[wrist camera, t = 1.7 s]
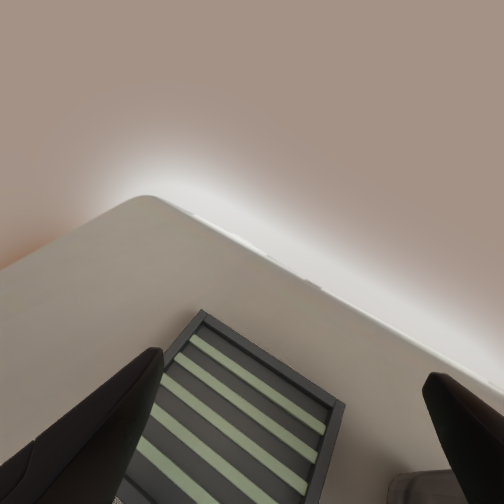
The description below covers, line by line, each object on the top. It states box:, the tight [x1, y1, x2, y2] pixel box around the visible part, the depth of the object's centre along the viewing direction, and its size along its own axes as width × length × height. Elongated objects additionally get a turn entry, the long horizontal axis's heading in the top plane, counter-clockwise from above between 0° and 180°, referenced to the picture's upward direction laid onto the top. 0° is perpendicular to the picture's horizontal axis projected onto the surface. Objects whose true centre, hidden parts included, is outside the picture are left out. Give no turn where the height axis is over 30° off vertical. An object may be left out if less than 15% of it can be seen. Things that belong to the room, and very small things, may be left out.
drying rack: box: [116, 309, 346, 504], centre depth 17 cm, size 14×12×2 cm
